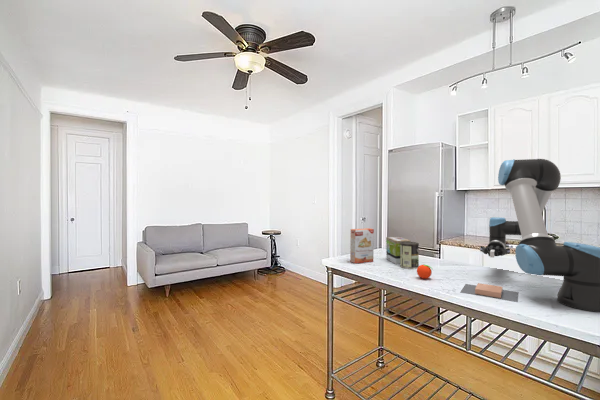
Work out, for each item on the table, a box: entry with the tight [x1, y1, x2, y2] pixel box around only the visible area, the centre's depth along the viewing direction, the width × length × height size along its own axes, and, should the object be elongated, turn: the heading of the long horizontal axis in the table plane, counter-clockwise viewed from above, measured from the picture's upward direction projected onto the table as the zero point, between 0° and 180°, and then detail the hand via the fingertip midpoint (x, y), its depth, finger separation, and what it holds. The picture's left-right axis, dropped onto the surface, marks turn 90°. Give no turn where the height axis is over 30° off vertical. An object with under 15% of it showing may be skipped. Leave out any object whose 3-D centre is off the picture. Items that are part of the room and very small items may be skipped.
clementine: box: [416, 264, 432, 280], centre depth 151 cm, size 8×7×7 cm
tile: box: [475, 282, 504, 298], centre depth 127 cm, size 9×2×10 cm
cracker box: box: [349, 227, 375, 264], centre depth 189 cm, size 14×6×21 cm, turn 113°
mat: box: [459, 283, 519, 303], centre depth 128 cm, size 20×15×1 cm
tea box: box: [385, 236, 412, 265], centre depth 189 cm, size 15×10×15 cm, turn 6°
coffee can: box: [399, 241, 420, 270], centre depth 175 cm, size 10×10×14 cm
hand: (491, 254), depth 138 cm, fingers closed
